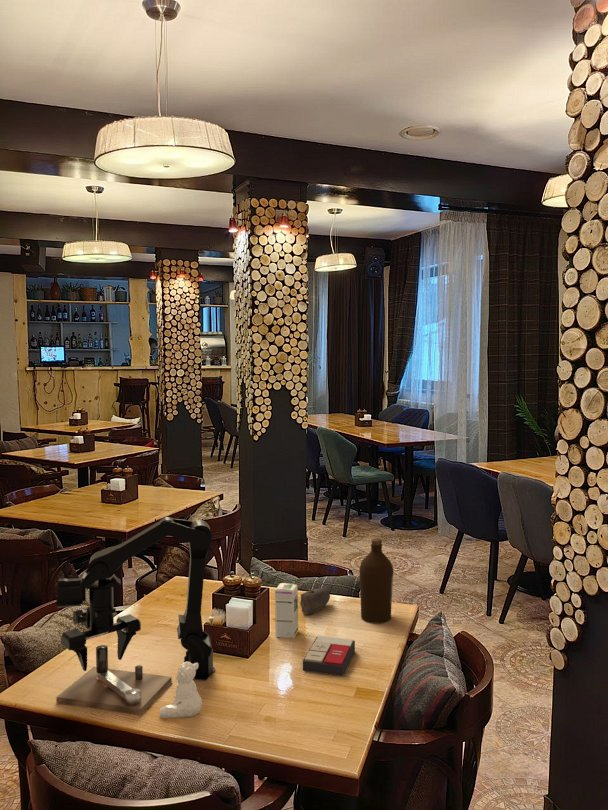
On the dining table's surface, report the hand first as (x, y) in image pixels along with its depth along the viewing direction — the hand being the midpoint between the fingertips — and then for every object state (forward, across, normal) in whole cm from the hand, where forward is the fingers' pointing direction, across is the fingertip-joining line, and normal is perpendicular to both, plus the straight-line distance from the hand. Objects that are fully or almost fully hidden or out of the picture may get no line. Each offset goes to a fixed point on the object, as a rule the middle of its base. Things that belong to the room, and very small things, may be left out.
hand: (102, 664), depth 167 cm
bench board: (+5, -1, +6) cm, 8 cm away
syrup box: (+5, -54, +7) cm, 55 cm away
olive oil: (+5, -84, +16) cm, 85 cm away
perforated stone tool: (+5, -74, -1) cm, 74 cm away
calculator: (+6, -52, +28) cm, 59 cm away
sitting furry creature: (+5, -8, +25) cm, 27 cm away
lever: (+3, 0, +8) cm, 9 cm away
